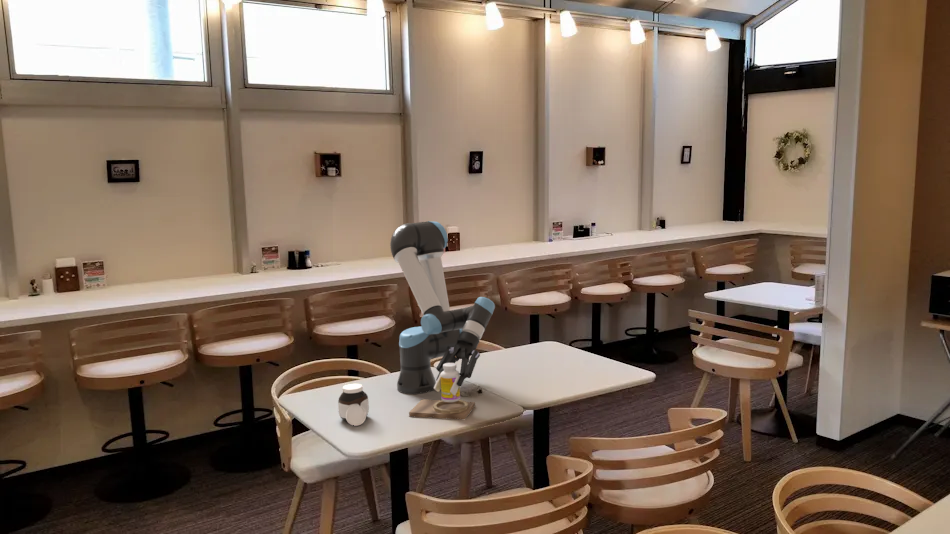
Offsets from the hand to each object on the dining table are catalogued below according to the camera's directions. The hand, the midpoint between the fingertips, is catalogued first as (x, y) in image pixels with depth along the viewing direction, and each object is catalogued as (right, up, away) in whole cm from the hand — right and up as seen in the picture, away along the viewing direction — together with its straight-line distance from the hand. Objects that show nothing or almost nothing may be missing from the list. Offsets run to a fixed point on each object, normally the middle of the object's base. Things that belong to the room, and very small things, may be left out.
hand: (444, 391), depth 252 cm
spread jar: (-30, -10, -1) cm, 32 cm away
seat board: (-1, -8, +5) cm, 9 cm away
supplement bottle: (+2, -4, +3) cm, 6 cm away
